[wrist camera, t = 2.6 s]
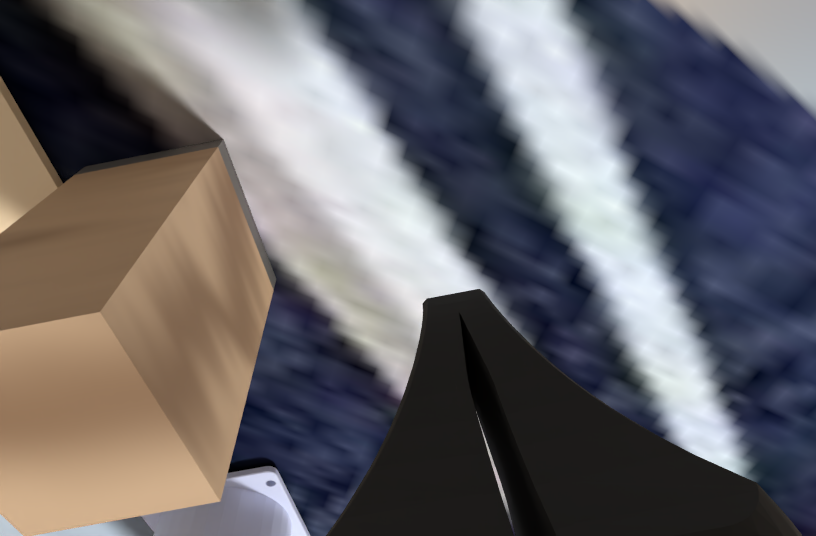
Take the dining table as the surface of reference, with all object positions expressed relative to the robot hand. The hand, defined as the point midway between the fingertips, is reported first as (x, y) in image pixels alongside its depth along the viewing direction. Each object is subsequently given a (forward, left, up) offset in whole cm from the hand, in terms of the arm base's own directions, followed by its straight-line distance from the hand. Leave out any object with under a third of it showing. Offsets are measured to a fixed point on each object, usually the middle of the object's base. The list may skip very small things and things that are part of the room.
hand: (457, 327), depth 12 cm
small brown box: (0, +9, -9) cm, 13 cm away
